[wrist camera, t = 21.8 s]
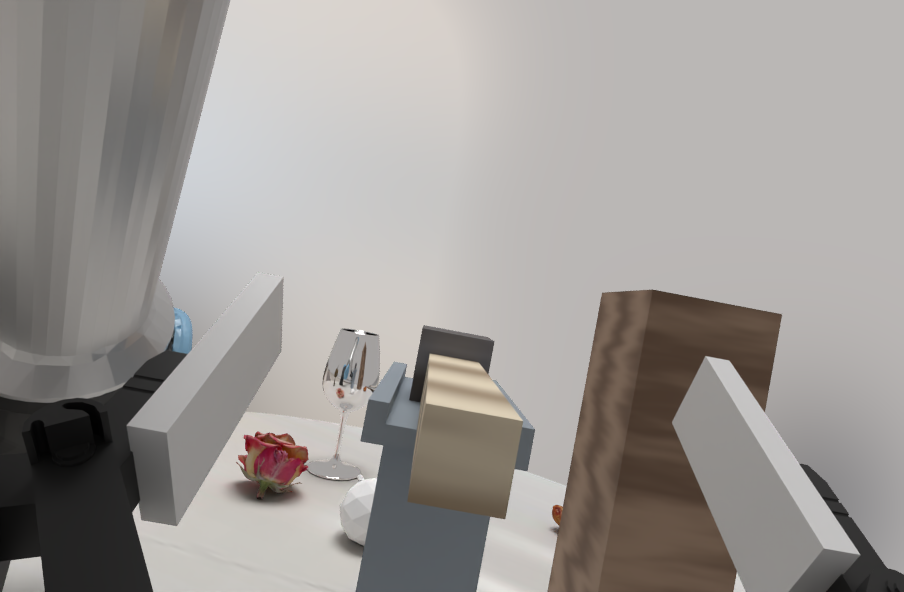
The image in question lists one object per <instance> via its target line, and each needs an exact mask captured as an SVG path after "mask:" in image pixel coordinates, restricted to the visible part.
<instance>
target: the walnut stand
mask: <svg viewBox="0 0 904 592" xmlns="http://www.w3.org/2000/svg"><path fill="white" fill-rule="evenodd" d="M781 317H782V315H781V314H777V313H772V312H767V311H761V310H756V309H751V308H746V307H741V306H735V305H730V304H725V303H719V302H714V301H709V300H704V299H699V298H693V297H688V296H683V295H678V294H673V293H667V292H662V291H657V290H640V291H625V292H624V291H623V292H607V293H602V297H601V302H600V307H599V313H598V319H597V324H596V329H595V335H594V341H593V346H592V351H591V357H590V362H589V368H588V373H587V379H586V384H585V390H584V395H583V401H582V406H581V411H580V417H579V423H578V428H577V433H576V439H575V444H574V450H573V456H572V461H571V466H570V472H569V477H568V483H567V488H566V494H565V499H564V504H563V510H562V515H561V521H560V526H559V532H558V537H557V543H556V548H555V554H554V559H553V565H552V570H551V576H550V581H549V587H548V592H733V590H734V584H735V579H736V573H737V570H736V568H735V566H734V563H733V561H732V559H731V557H730V554H729V552H728V550H727V547H726V545H725V543H724V541H723V538H722V536H721V534H720V531H719V529H718V527H717V525H716V522H715V520H714V518H713V515H712V513H711V511H710V509H709V506H708V504H707V502H706V499H705V497H704V495H703V493H702V490H701V488H700V486H699V483H698V481H697V479H696V477H695V474H694V472H693V470H692V467H691V465H690V463H689V461H688V458H687V456H686V454H685V451H684V449H683V447H682V445H681V442H680V440H679V438H678V435H677V433H676V431H675V429H674V426H673V424H672V421H673V419H674V417H675V415H676V413H677V411H678V409H679V407H680V405H681V403H682V401H683V399H684V397H685V395H686V393H687V392H688V390H689V388H690V386H691V384H692V382H693V380H694V378H695V376H696V374H697V372H698V370H699V368H700V366H701V364H702V362H703V360H704V358H705V356H708V357H713V358H718V359H724V360H729V361H730V362H731V364H732V365H733V367H734V368H735V370H736V371H737V373H738V374H739V375H740V377H741V378H742V380H743V381H744V383H745V384H746V386H747V387H748V389H749V390H750V392H751V393H752V395H753V396H754V398H755V399H756V401H757V402H758V404H759V405H760V407H761V408H762V410H763V411H764V413H765V408H766V402H767V397H768V391H769V385H770V380H771V374H772V369H773V363H774V357H775V351H776V346H777V340H778V334H779V328H780V322H781Z"/></svg>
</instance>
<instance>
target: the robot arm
mask: <svg viewBox="0 0 904 592" xmlns="http://www.w3.org/2000/svg"><path fill="white" fill-rule="evenodd" d="M229 3H230V0H0V592H2V589H3V586H4V582H5V579H6V575H7V572H8V568H9V565H10V561H11V560H16V559H24V558H32V557H40V556H41V560H42V569H43V577H44V586H45V592H153V589H152V586H151V582H150V578H149V574H148V571H147V567H146V563H145V560H144V556H143V552H142V548H141V545H140V541H139V537H138V534H137V530H136V526H135V522H134V519H133V515H132V512H133V510H134V509H135V507H136V506H137V504H138V503H139V508H140V514H141V520H144V521H150V522H156V523H162V524H167V525H173V526H177V525H178V523H179V522H180V520H181V518H182V517H183V515H184V513H185V512H186V510H187V508H188V507H189V505H190V503H191V502H192V500H193V498H194V497H195V495H196V493H197V492H198V490H199V488H200V487H201V485H202V483H203V481H204V480H205V478H206V476H207V475H208V473H209V471H210V470H211V468H212V466H213V465H214V463H215V461H216V460H217V458H218V456H219V455H220V453H221V451H222V450H223V448H224V446H225V445H226V443H227V441H228V440H229V438H230V436H231V435H232V433H233V431H234V430H235V428H236V426H237V424H238V423H239V421H240V419H241V418H242V416H243V414H244V413H245V411H246V409H247V408H248V406H249V404H250V403H251V401H252V399H253V397H254V396H255V394H256V393H257V391H258V389H259V387H260V386H261V384H262V383H263V381H264V379H265V377H266V376H267V374H268V372H269V371H270V369H271V367H272V366H273V364H274V362H275V361H276V359H277V357H278V356H279V354H280V352H281V343H282V310H283V309H282V308H283V277H281V276H276V275H271V274H265V273H260V272H258V273H257V274H256V275H255V276H254V278H253V279H252V280H251V281H250V282H249V283H248V285H247V286H246V287H245V288H244V289H243V290H242V292H241V293H240V294H239V295H238V296H237V297H236V299H235V300H234V301H233V302H232V303H231V304H230V306H229V307H228V308H227V309H226V310H225V311H224V313H223V314H222V315H221V316H220V317H219V319H217V321H216V322H215V323H214V324H213V325H212V327H211V328H210V329H209V330H208V331H207V332H206V334H205V335H204V336H203V337H202V338H201V339H200V340H199V342H198V343H197V344H196V345H195V346H194V347H193V349H192V324H191V321H190V318H189V317H188V315H187V314H186V313H185V312H183V311H182V310H180V309H177V308H174V307H173V303H172V299H171V297H170V295H169V293H168V291H167V288H166V287H165V286H164V284H163V283H162V282H161V280H160V279H159V276H160V272H161V268H162V264H163V260H164V256H165V252H166V248H167V244H168V241H169V237H170V233H171V229H172V225H173V221H174V217H175V213H176V209H177V205H178V202H179V198H180V193H181V190H182V186H183V182H184V178H185V174H186V170H187V166H188V163H189V159H190V154H191V151H192V147H193V143H194V139H195V135H196V131H197V127H198V124H199V120H200V116H201V112H202V108H203V104H204V100H205V96H206V92H207V88H208V85H209V80H210V77H211V73H212V69H213V65H214V61H215V57H216V54H217V50H218V46H219V41H220V38H221V34H222V30H223V26H224V22H225V18H226V14H227V11H228V7H229ZM672 424H673V426H674V429H675V431H676V433H677V435H678V438H679V440H680V442H681V445H682V447H683V449H684V451H685V454H686V456H687V458H688V461H689V463H690V465H691V467H692V470H693V472H694V474H695V477H696V479H697V481H698V483H699V486H700V488H701V490H702V493H703V495H704V497H705V499H706V502H707V504H708V506H709V509H710V511H711V513H712V515H713V518H714V520H715V522H716V525H717V527H718V529H719V531H720V534H721V536H722V538H723V541H724V543H725V545H726V547H727V550H728V552H729V554H730V557H731V559H732V561H733V563H734V566H735V568H736V570H737V573H738V575H739V577H740V579H741V582H742V584H743V586H744V589H745V591H746V592H904V575H903V574H901V573H899V572H897V571H895V570H892V569H888V568H887V567H886V566H885V565H884V564H883V562H882V560H881V559H880V558H879V556H878V555H877V553H876V552H875V550H874V549H873V548H872V546H871V545H870V543H869V542H868V541H867V539H866V538H865V536H864V535H863V533H862V532H861V531H860V529H859V528H858V527H857V525H856V524H855V523H854V521H853V519H852V518H850V517H848V515H849V514H848V512H847V511H846V509H845V508H844V507H843V505H842V504H841V503H839V502H838V500H839V499H838V498H837V497H836V495H835V494H834V492H833V491H832V490H831V488H830V487H829V485H828V484H827V482H826V481H825V480H823V479H822V478H821V477H820V476H819V475H818V474H817V473H816V472H815V471H814V470H812V469H811V468H810V467H809V466H808V465H804V464H799V463H798V462H797V460H796V459H795V457H794V456H793V454H792V453H791V451H790V450H789V448H788V447H787V445H786V444H785V442H784V441H783V439H782V438H781V436H780V435H779V433H778V432H777V431H776V429H775V427H774V426H773V425H772V423H771V422H770V420H769V418H768V417H767V416H766V414H765V413H764V411H763V410H762V408H761V407H760V405H759V404H758V402H757V401H756V399H755V398H754V396H753V395H752V393H751V392H750V390H749V389H748V387H747V386H746V384H745V383H744V381H743V380H742V378H741V377H740V375H739V374H738V373H737V371H736V370H735V368H734V367H733V365H732V364H731V362H730V361H729V360H724V359H718V358H713V357H708V356H705V358H704V360H703V362H702V364H701V366H700V368H699V370H698V372H697V374H696V376H695V378H694V380H693V382H692V384H691V386H690V388H689V390H688V392H687V393H686V395H685V397H684V399H683V401H682V403H681V405H680V407H679V409H678V411H677V413H676V415H675V417H674V419H673V421H672Z"/></svg>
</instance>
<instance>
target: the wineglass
mask: <svg viewBox="0 0 904 592" xmlns="http://www.w3.org/2000/svg"><path fill="white" fill-rule="evenodd" d="M379 369H380V346H379V335H377V334H374V333H370V332H365V331H360V330H353V329H341V330H340V332H339V335H338V337H337V339H336V341H335V344H334V346H333V348H332V351H331V354H330V356H329V359H328V362H327V364H326V368H325V371H324V375H323V391H324V393H325V395H326V398H327V399H328V400H329V402H330V403H331V404H332V405H333V406H334V407H336V408H337V409H339V410H340V414H341V419H340V427H339V433H338V438H337V443H336V448H335V453H334V455H333V457H332V459H331V460H315V461H312V462H310V463H309V464H308V465H307V466H308V468H307V469H308V471H309V472H311V473H312V474H314V475H316V476H319V477H322V478H326V479H332V480H350V479H354V478H357V477H358V475H360V473H361V472H360V470H359V469H358V468H357V467H356V466H354V465H352V464H349V463H346V462H343V461H341V460H340V449H341V443H342V438H343V433H344V428H345V424H346V420H347V417H348V415H349V413H350V412H351V411H355V410H358V409H360V408H362V407H364V406H365V405H367V404H368V400H369V398H370V396H371V395H372V394H373V392H374V391H375V389H376V388H377V386H378V381H379V372H380V370H379Z"/></svg>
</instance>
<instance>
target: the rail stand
mask: <svg viewBox="0 0 904 592" xmlns="http://www.w3.org/2000/svg"><path fill="white" fill-rule="evenodd" d="M406 367H407V364H404V363H398V362H394V363H393V364H392V366H391V367H390V369H389V370H388V372H387V373H386V375H385V376H384V378H383V379H382V380H381V382H380V384H379V385H378V386H377V388H376V389H375V391H374V392H373V394H372V395H371V396H370V398H369V400H368V405H367V410H366V416H365V421H364V426H363V431H362V436H361V441H362V442H367V443H373V444H378V445H383V450H382V456H381V461H380V466H379V472H378V477H377V482H376V487H375V493H374V498H373V503H372V508H371V514H370V519H369V524H368V530H367V535H366V540H365V545H364V551H363V556H362V561H361V566H360V572H359V577H358V582H357V588H356V592H476V590H477V584H478V579H479V573H480V568H481V563H482V557H483V552H484V547H485V541H486V536H487V530H488V525H489V520H490V516H484V515H478V514H473V513H467V512H461V511H456V510H450V509H444V508H439V507H433V506H427V505H422V504H416V503H410V502H407V500H408V493H409V485H410V478H411V470H412V463H413V455H414V448H415V440H416V433H417V425H418V417H419V410H420V402H416V401H410V400H409V398H410V392H411V387H412V382H413V378H408V377H405V372H406ZM493 382H494V383H495V384H496V386H497V387H498V388H499V390H500V391H501V392H502V394H503V395H504V396H505V398H506V399H507V400H508V402H509V403H510V404H511V406H512V407H513V408H514V409H515V411H516V412H517V413H518V415H519V416H520V417H521V419H522V420H523V425H522V431H521V436H520V442H519V447H518V452H517V458H516V463H515V469H518V470H523V471H527V470H528V465H529V459H530V454H531V449H532V443H533V437H534V432H535V429H534V428H533V426H532V425H531V424H530V423H529V421H528V420H527V419H526V418H525V416H524V415H523V414H522V413H521V411H520V410H519V409H518V408H517V406H516V405H515V404H514V402H513V401H512V400H511V399H510V397H509V396H508V395H507V394H506V392H505V391H504V390H503V389H502V388H501V386H500V385H499V384H498V382H497V381H496V380H493Z"/></svg>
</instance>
